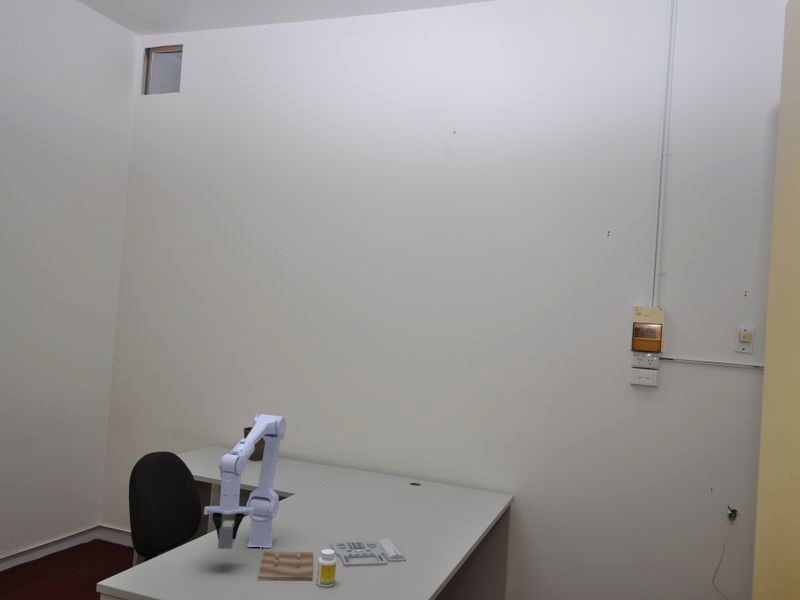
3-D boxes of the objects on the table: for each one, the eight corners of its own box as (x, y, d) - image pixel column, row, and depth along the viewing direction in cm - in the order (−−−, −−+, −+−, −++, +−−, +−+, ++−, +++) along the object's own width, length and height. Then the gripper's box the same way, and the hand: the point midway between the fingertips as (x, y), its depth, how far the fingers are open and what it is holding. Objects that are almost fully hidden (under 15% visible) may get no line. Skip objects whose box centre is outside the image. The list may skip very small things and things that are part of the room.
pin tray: (263, 554, 208) (264, 545, 208) (312, 554, 210) (313, 545, 210) (258, 579, 188) (258, 569, 188) (312, 580, 190) (312, 570, 190)
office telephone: (394, 536, 227) (410, 557, 208) (393, 543, 227) (410, 565, 208) (330, 538, 220) (341, 560, 201) (330, 545, 220) (340, 568, 201)
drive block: (221, 538, 198) (223, 519, 198) (234, 539, 199) (236, 519, 199) (217, 548, 190) (219, 528, 190) (231, 548, 191) (232, 528, 191)
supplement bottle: (312, 582, 188) (315, 550, 188) (326, 578, 192) (328, 546, 192) (324, 589, 184) (326, 556, 185) (338, 584, 188) (340, 552, 189)
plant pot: (235, 460, 331) (238, 429, 331) (251, 454, 345) (253, 425, 345) (260, 464, 326) (263, 433, 326) (275, 458, 340) (277, 428, 341)
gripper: (203, 496, 190) (200, 542, 190) (252, 498, 192) (249, 543, 191) (207, 490, 197) (204, 533, 197) (255, 491, 199) (251, 534, 198)
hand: (226, 537), depth 194 cm, fingers closed on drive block, 4 cm apart
